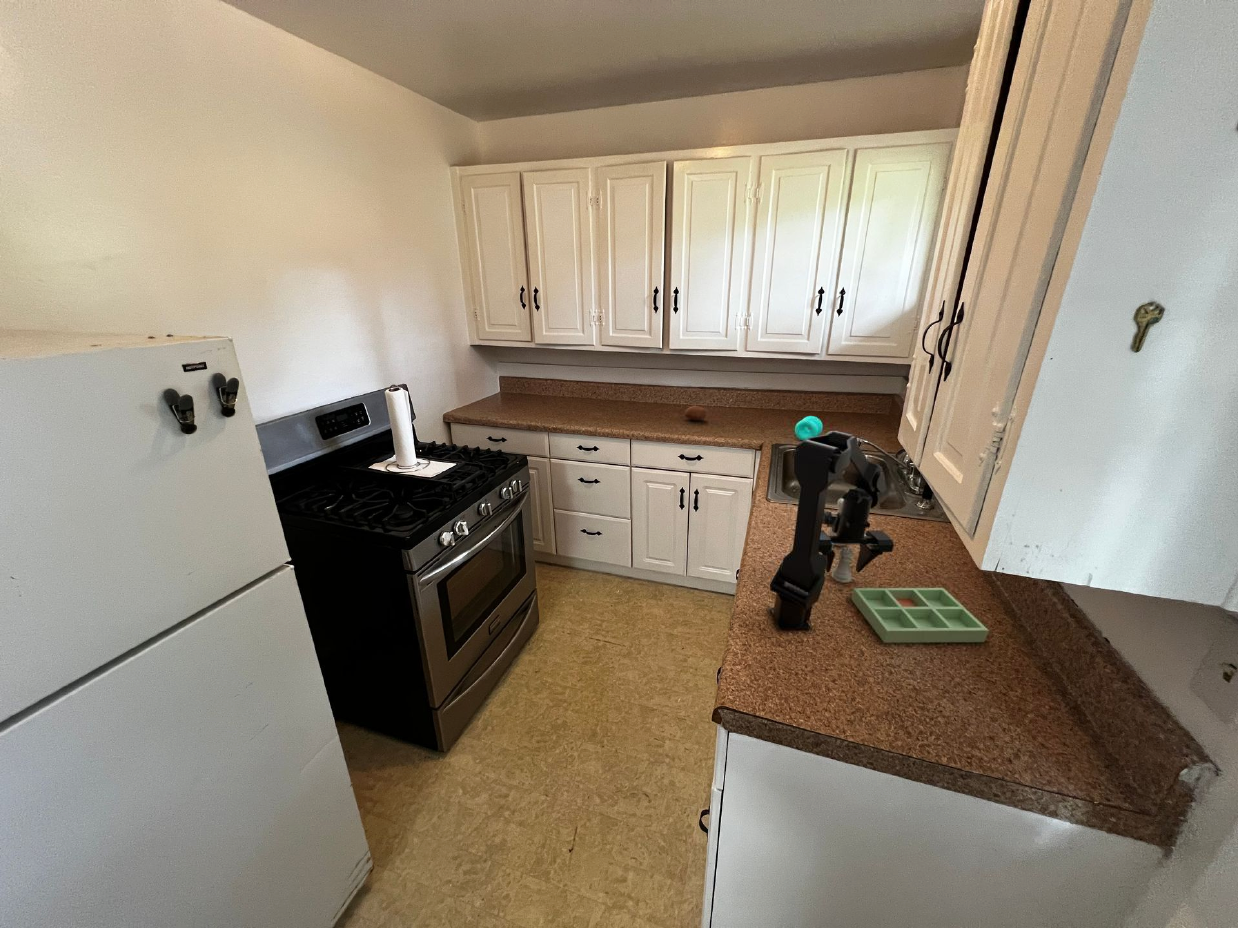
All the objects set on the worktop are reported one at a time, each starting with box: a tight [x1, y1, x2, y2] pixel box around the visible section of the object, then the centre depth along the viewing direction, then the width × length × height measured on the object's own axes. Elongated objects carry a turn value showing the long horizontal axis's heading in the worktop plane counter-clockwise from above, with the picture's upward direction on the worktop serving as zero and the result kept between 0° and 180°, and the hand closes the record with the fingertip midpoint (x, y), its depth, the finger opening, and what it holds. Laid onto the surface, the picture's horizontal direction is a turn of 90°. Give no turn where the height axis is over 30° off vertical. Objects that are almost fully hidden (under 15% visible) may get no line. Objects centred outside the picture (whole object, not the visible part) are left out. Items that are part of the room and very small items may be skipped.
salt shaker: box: [827, 497, 845, 547], centre depth 130 cm, size 6×6×13 cm
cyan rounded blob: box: [794, 415, 824, 442], centre depth 216 cm, size 10×10×10 cm
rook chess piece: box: [830, 546, 855, 584], centre depth 115 cm, size 4×4×8 cm
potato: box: [684, 405, 707, 422], centre depth 243 cm, size 8×11×8 cm
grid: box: [850, 587, 989, 644], centre depth 102 cm, size 21×14×3 cm
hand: (842, 571), depth 116 cm, fingers open, 7 cm apart
